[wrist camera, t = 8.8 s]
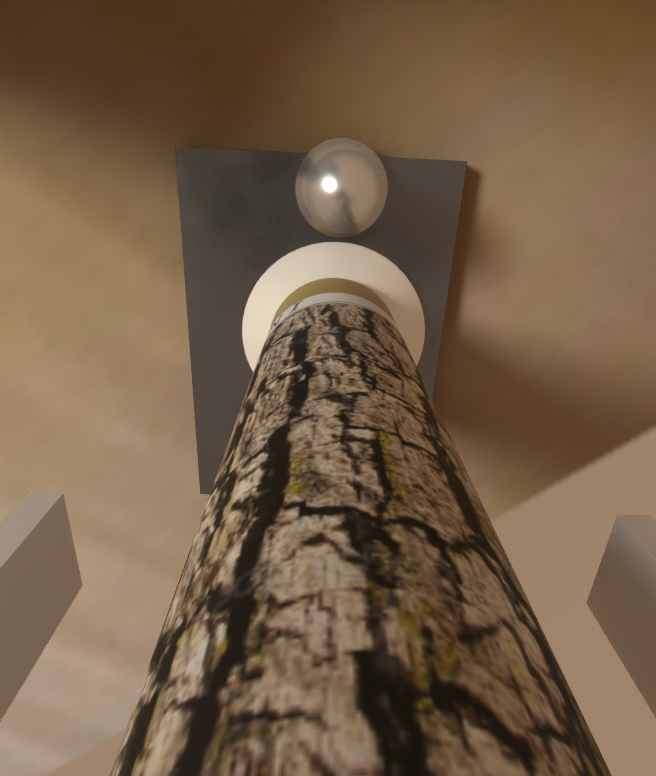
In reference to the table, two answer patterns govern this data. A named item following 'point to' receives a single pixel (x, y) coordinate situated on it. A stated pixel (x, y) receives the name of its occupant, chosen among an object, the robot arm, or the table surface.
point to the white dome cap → (332, 264)
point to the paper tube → (349, 586)
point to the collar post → (341, 187)
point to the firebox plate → (278, 238)
